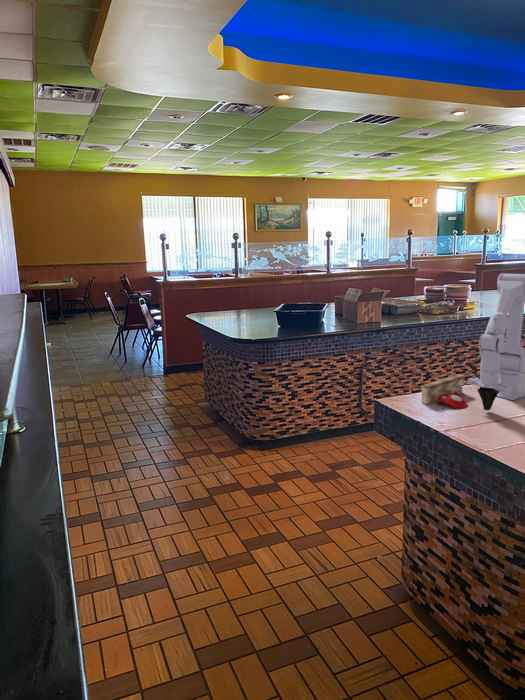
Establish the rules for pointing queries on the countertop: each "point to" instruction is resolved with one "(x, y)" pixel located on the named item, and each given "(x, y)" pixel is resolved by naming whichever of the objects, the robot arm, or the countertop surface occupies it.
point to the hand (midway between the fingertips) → (487, 409)
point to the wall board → (441, 388)
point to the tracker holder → (453, 399)
